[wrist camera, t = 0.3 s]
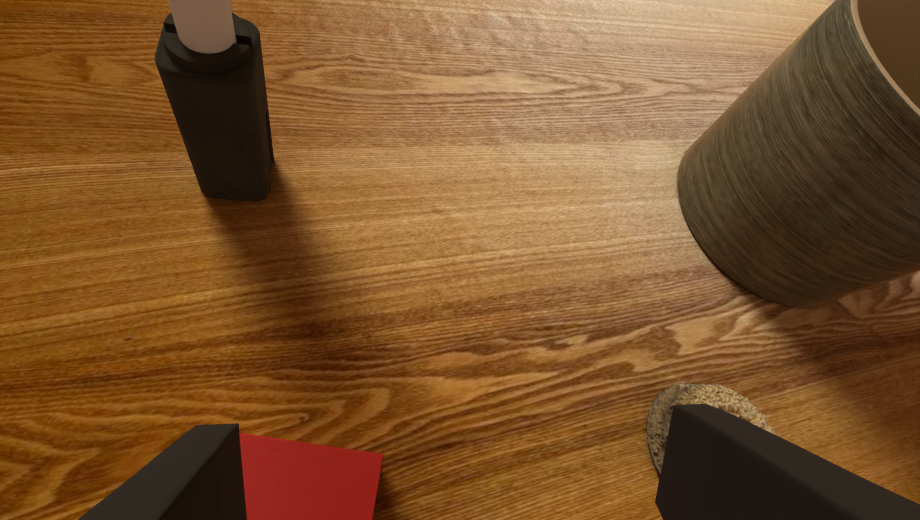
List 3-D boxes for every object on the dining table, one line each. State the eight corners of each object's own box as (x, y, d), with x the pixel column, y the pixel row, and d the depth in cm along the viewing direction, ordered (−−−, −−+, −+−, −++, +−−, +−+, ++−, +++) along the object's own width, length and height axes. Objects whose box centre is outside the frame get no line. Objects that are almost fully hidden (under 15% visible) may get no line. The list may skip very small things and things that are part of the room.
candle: (268, 202, 39) (213, -172, 18) (197, 196, 38) (42, -216, 16) (275, 150, 41) (233, -241, 20) (208, 142, 40) (84, -285, 18)
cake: (619, 406, 40) (657, 387, 36) (707, 370, 44) (752, 349, 39) (686, 539, 36) (739, 536, 31) (778, 487, 40) (836, 477, 35)
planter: (741, 107, 61) (914, -54, 43) (882, 247, 56) (1139, 130, 39) (631, 179, 51) (800, 7, 33) (792, 357, 46) (1086, 266, 29)
